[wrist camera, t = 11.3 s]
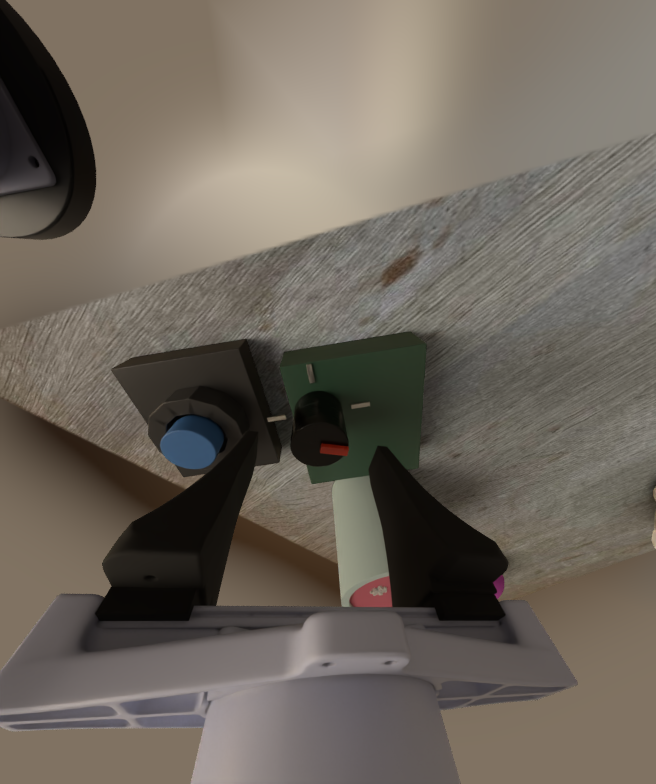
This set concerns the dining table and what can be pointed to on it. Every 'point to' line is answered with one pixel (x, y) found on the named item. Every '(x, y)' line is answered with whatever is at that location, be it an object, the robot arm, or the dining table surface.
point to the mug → (360, 545)
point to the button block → (203, 395)
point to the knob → (319, 430)
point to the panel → (364, 396)
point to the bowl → (655, 534)
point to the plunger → (192, 442)
